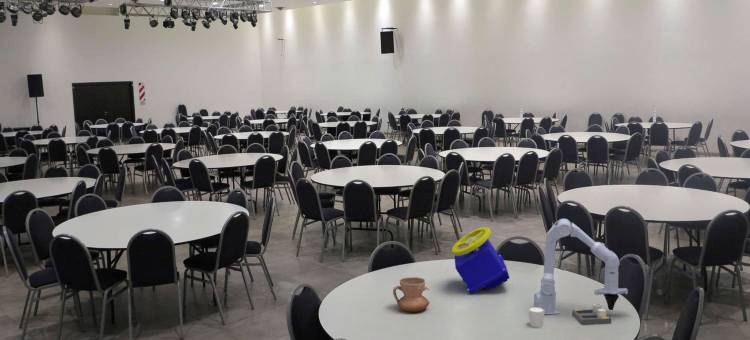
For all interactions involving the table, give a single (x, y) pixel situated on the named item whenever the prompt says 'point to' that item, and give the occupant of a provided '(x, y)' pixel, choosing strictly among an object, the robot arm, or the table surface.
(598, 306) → the white block
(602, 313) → the white rectangular block
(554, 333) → the table surface
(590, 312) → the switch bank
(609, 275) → the robot arm
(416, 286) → the ceramic jug
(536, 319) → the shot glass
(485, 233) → the blue valve with handwheel
